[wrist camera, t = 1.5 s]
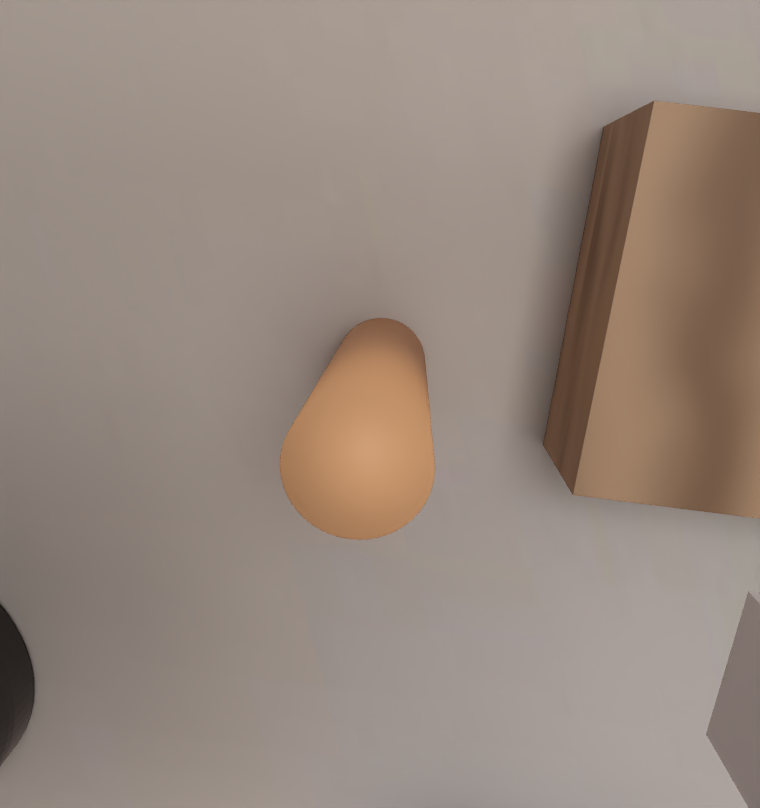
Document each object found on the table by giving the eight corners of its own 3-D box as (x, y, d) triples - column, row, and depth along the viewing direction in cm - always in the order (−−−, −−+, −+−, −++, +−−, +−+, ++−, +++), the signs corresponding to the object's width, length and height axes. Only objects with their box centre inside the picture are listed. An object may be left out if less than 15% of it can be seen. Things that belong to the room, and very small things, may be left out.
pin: (333, 398, 31) (274, 529, 18) (342, 313, 30) (286, 384, 17) (418, 408, 31) (423, 548, 18) (430, 323, 30) (444, 403, 17)
